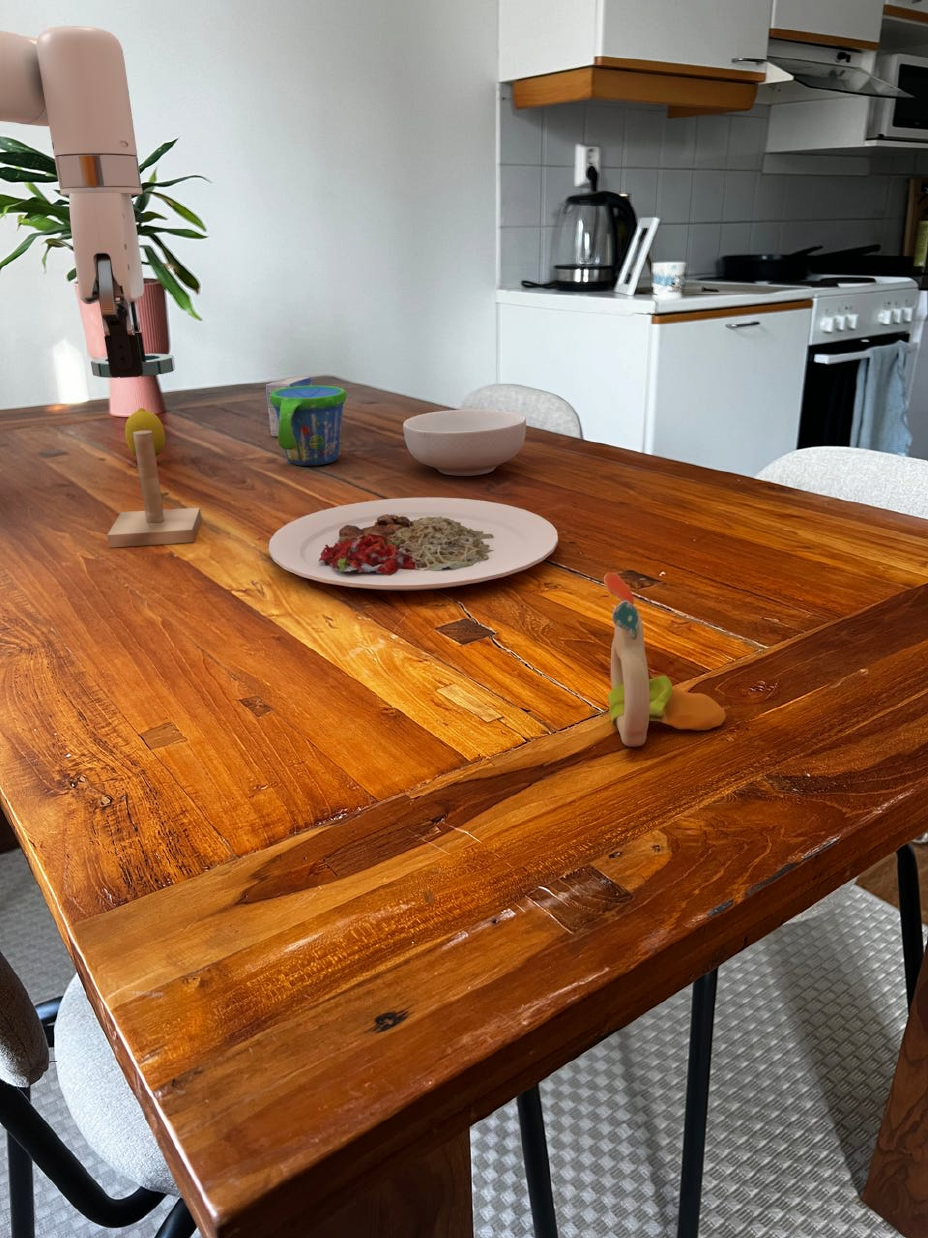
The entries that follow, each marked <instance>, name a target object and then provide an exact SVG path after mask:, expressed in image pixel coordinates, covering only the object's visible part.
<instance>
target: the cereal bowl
mask: <svg viewBox="0 0 928 1238" xmlns="http://www.w3.org/2000/svg"><path fill="white" fill-rule="evenodd" d="M402 429H403V434H404V435H403V437H404V442H405V446H406V448H407V450H408V452H409V453H410V455H411V456H412V457H413V458H414V459H415V460H416V461H418V462H419V463H420V464H423V465H426V467H431V468H433V469H436V470H437V471H438V472H439V473H441V474H443V475H448V476H454V477H455V476H456V477H467V476H468V477H471V476H480V475H485V474H488V473H491V472H494V470H496V467H498V466H500V465H502V464H504V463H506V462H508V461H510V460H512V459H513V458H514V457H515V456H517V455H518V453H519V452H520V451H521V449H522V448H523V446H524V443H525V439H526V433H527V419H526V417H525V416H523V414H520V413H517V412H512V411H506V410H496V409H452V410H451V409H450V410H440V411H433V412H427V413H422V414H419V415H416V416H415V415H414V416H412V417H409V418H408V419H406V420H405V421H404V422H403V424H402Z"/></svg>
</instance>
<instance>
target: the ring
mask: <svg viewBox="0 0 928 1238" xmlns="http://www.w3.org/2000/svg"><path fill="white" fill-rule="evenodd" d="M145 357H146V361H142V365H143V374H142V375H141V376H131V377H112V376H111V375H110V370H109V364H108V358H107V356H103V357H98V358H94V359H93V360H91V361H90V366H91V372H92V376H94V377H98V378H105V379H106V378H107V379H108V378H112V379H118V378H119V379H126V378H129V379H130V378H139V377H142V378H143V377H152V376H158V375H164V374H168V373H172V372H175V369H176V366H175V365H176V364H175V358H174V355H172V354H167V353H145Z"/></svg>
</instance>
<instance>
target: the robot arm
mask: <svg viewBox="0 0 928 1238" xmlns="http://www.w3.org/2000/svg"><path fill="white" fill-rule="evenodd" d="M131 105H132V104H131V98H130V90H129V83H128V76H127V69H126V63H125V55H124V51H123V46H122V44H121V42H120V41H119V39H118V37H117V36H115V35H114V34H113V33H111V32H110V31H107V30H105V29H102V28H98V27H91V26H81V25H80V26H79V25H77V26H76V25H66V26H65V25H63V26H54V27H50V28H47V29H44V30H43V31H41V33H39V35H38V37H37V38H36V37H30V36H26V35H20V34H17V33H13V32H9V31H3V30H0V122H3V123H12V124H13V123H15V124H20V125H27V126H37V127H49V128H48V129H49V134H50V139H51V147H52V151H53V156H54V162H55V169H56V175H57V181H58V187H59V193H60V196H64V197H65V196H67V197H68V203H69V205H68V206H69V219H70V221H69V222H70V230H71V239H72V249H73V255H74V256H73V257H74V264H75V272H76V273H75V274H76V281H77V287H78V296H79V299H80V300H81V302H83V304H85V305H92V304H95V303H97V302H98V303H99V310H100V316H101V322H102V327H103V328H102V329H103V334H104V337H103V338H104V339H103V340H104V345H105V351H106V357H107V358H108V364H109V370H110V375H111V376H112V377H119V378H120V377H130V378H132V377H131V376H139V377H141V375H142V374H143V365H142V361H146V357H145V354H146V352H145V344H144V337H143V332H141V323H140V322H141V321H140V316H139V315H140V314H139V310H138V308H139V307H138V302H137V300H139V299H141V297H143V295H144V293H145V283H144V273H143V265H142V257H141V250H140V243H139V235H138V231H137V230H138V229H137V223H136V215H135V212H134V211H135V210H134V205H133V199H132V196H140V195H143V194H144V193H143V187H142V180H141V179H142V178H141V173H140V165H139V159H138V150H137V141H136V135H135V128H134V120H133V114H132V113H133V112H132V107H131Z"/></svg>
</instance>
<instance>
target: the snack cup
mask: <svg viewBox="0 0 928 1238" xmlns="http://www.w3.org/2000/svg"><path fill="white" fill-rule="evenodd" d="M347 396H348V395H347V392H346V390H345V389H344V388H342V387H339V386H332V385H312V386H297V387H289V388H283V389H279V390H276V391H273V392H272V393H271V395H270V401H271V404H273V406H274V408H275V410H276V413H277V419H278V421H279V431H278V437H277V443H278V446H279V447H280V448H281V449H283V450H284V452H285V456H286V458H287V462H288V463H291V464H294V465H295V466H301V467H304V466H305V467H314V466H315V467H316V466H324V465H329V464H332V463H334V462H336V460H338V459H339V457H340V451H341V441H342V439H341V438H342V424H343V416H344V415H343V414H344V412H343V411H344V404H345V402H346V400H347Z"/></svg>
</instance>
